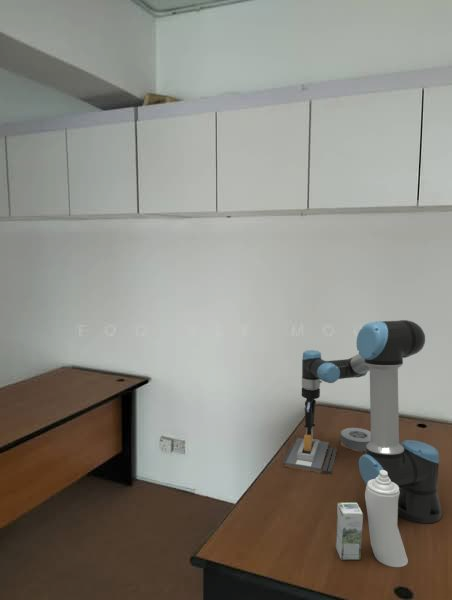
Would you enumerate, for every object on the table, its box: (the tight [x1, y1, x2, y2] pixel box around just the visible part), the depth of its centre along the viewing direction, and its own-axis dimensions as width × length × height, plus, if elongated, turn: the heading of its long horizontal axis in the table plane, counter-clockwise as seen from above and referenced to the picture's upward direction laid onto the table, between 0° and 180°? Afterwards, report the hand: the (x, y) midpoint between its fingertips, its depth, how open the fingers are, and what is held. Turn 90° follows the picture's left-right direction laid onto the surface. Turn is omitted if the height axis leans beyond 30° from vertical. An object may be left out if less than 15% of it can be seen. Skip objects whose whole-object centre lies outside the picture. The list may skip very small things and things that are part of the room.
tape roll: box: [340, 427, 371, 451], centre depth 207 cm, size 15×15×5 cm
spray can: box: [364, 470, 409, 568], centre depth 131 cm, size 12×11×25 cm
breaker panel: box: [281, 437, 338, 475], centre depth 194 cm, size 26×20×4 cm
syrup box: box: [335, 502, 364, 561], centre depth 132 cm, size 6×6×14 cm
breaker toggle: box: [303, 433, 312, 454], centre depth 192 cm, size 3×3×8 cm
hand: (309, 441), depth 195 cm, fingers closed
